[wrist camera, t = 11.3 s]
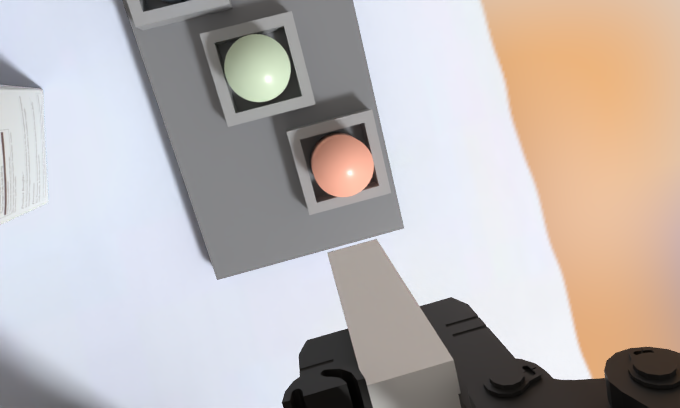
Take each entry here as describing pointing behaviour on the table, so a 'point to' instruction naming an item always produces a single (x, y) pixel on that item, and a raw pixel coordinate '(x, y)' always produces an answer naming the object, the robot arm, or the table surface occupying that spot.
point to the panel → (265, 126)
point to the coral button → (341, 164)
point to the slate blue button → (174, 1)
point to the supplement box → (22, 151)
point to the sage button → (257, 68)
